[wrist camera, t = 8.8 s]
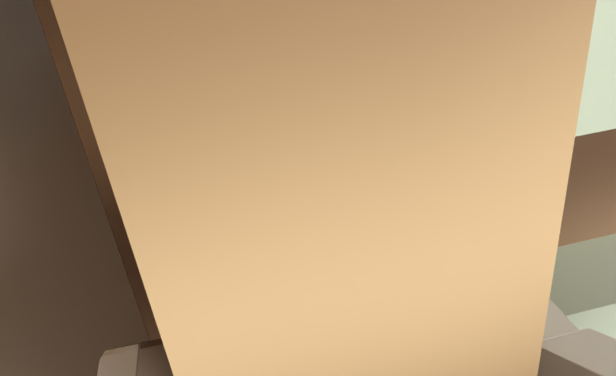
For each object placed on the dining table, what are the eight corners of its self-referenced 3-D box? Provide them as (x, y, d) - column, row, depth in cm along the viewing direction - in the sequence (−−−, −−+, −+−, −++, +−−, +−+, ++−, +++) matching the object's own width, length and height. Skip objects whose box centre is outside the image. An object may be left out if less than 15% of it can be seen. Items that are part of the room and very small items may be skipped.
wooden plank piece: (394, 486, 14) (489, 747, 10) (271, 520, 14) (316, 809, 9) (362, -345, 6) (806, -907, 2) (64, -327, 6) (-275, -1002, 1)
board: (648, 318, 20) (719, 383, 17) (207, 431, 17) (213, 524, 15) (841, -363, 11) (1056, -445, 8) (-18, -306, 8) (-102, -393, 6)
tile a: (633, 364, 16) (690, 423, 14) (471, 408, 15) (510, 476, 13) (674, 219, 13) (750, 269, 11) (481, 264, 12) (531, 324, 11)
